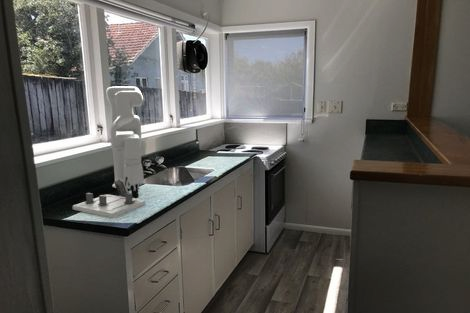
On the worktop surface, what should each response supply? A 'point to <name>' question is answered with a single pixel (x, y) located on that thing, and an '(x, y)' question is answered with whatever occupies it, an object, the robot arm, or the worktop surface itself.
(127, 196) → the cylinder
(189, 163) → the worktop surface
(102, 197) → the breaker
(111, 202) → the white base plate
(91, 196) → the breaker
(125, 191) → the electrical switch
